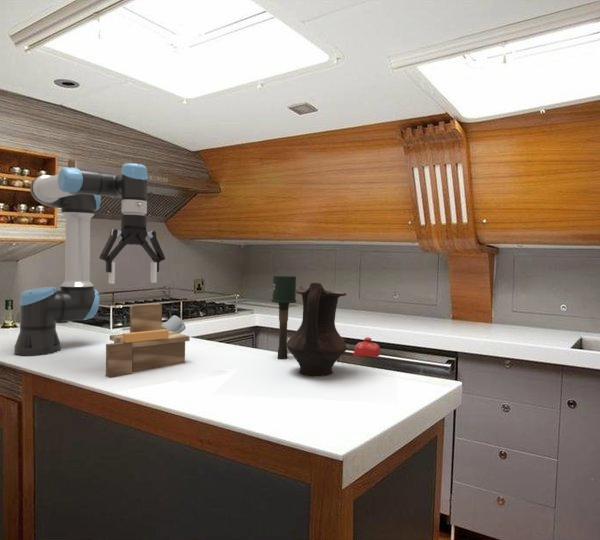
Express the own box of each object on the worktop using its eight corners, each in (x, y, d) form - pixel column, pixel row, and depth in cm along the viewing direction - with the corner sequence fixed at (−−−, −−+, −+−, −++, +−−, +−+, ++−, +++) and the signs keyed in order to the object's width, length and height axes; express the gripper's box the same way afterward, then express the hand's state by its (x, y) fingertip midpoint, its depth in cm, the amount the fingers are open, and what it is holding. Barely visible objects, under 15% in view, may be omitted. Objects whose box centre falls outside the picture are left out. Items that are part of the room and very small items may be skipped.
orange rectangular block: (122, 341, 151) (122, 333, 151) (164, 337, 161) (164, 329, 161) (126, 342, 149) (126, 334, 149) (168, 338, 159) (168, 330, 159)
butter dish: (385, 359, 183) (386, 336, 183) (380, 365, 172) (381, 341, 172) (354, 356, 187) (355, 333, 187) (347, 362, 176) (348, 338, 176)
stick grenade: (281, 358, 178) (283, 274, 177) (299, 362, 173) (302, 276, 171) (264, 362, 171) (266, 275, 170) (283, 366, 166) (285, 276, 165)
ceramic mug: (168, 342, 212) (156, 328, 212) (183, 330, 217) (172, 316, 216) (174, 337, 203) (162, 322, 203) (190, 325, 208) (178, 310, 208)
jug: (291, 368, 164) (293, 277, 163) (347, 372, 161) (350, 279, 160) (278, 385, 143) (280, 280, 142) (342, 389, 140) (346, 283, 139)
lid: (109, 342, 163) (110, 304, 163) (165, 336, 177) (166, 301, 176) (131, 350, 151) (131, 309, 151) (189, 343, 165) (190, 306, 165)
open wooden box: (88, 367, 158) (89, 337, 157) (164, 357, 176) (164, 330, 175) (109, 377, 146) (109, 345, 146) (187, 365, 164) (188, 336, 164)
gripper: (98, 211, 144) (97, 284, 145) (176, 216, 161) (175, 282, 161) (88, 212, 149) (87, 283, 150) (165, 217, 166) (164, 281, 167)
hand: (133, 283), depth 156 cm, fingers open, 13 cm apart
